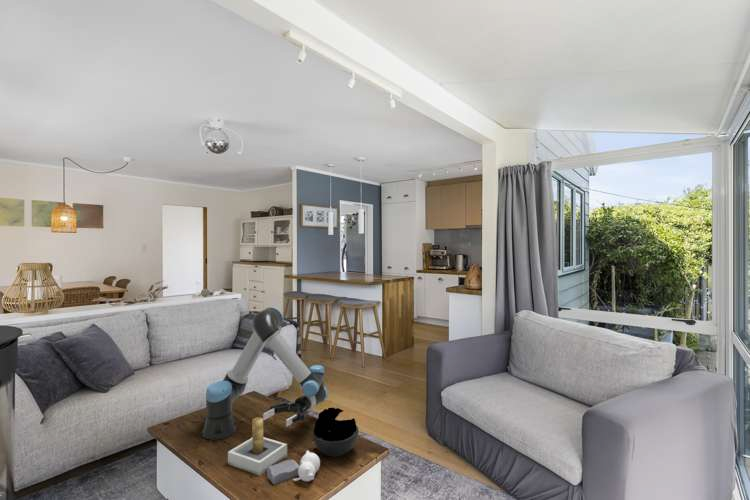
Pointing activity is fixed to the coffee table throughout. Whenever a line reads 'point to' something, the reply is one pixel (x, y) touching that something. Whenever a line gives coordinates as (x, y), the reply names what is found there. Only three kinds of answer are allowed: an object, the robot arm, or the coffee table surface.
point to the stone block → (282, 471)
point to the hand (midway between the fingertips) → (274, 420)
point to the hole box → (257, 464)
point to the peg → (257, 435)
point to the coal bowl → (334, 433)
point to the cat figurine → (308, 467)
